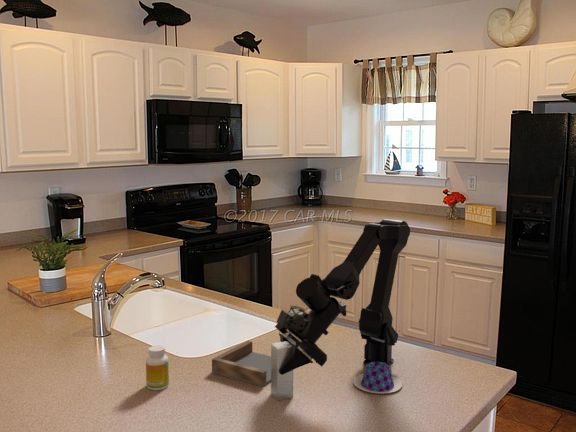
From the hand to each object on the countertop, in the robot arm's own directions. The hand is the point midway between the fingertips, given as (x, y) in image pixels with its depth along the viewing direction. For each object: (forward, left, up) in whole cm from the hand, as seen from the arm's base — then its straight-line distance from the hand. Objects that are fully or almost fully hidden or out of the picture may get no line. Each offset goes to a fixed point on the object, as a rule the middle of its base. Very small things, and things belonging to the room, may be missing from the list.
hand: (276, 370), depth 133 cm
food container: (+14, -32, -7) cm, 36 cm away
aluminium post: (-1, -1, -7) cm, 7 cm away
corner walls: (+14, -11, -7) cm, 19 cm away
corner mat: (+14, -11, -7) cm, 19 cm away
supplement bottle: (+28, +11, -7) cm, 30 cm away
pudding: (-17, -19, -7) cm, 27 cm away
